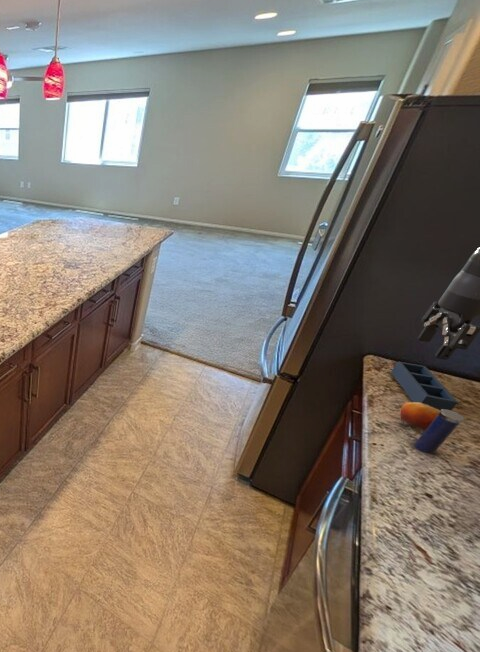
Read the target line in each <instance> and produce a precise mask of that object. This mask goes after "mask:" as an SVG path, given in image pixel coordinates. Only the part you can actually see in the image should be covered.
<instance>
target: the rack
mask: <svg viewBox="0 0 480 652" xmlns="http://www.w3.org/2000/svg"><path fill="white" fill-rule="evenodd" d="M390 373H391V375H392V376H393V377H394V379H395V380H396V381H397V383H398V384H399V385H400V387H401V388H402V390H403V391H404V392H405V393H406V394H407V396H408V397H409V399H410V400H411V402H419V403H423V404H426V405H429V406H430V407H433V408H436V409H438V410H440V411H441V410H442V409H446V410H451V411H453V409H454V408H455V407H456V406H457V405H458V404H459V402H458V400H457V399H456V397H454V396H453V395H452V394H451V393H450V391H449V390H448V389H447V388H446V387H445V386H444V385H443V384H442V383H441V381H440V380H439V379H438V378H437V377H436V376H435V375H434V374H433V373H432V372H431V371H430V370H429V368H428V367H427V366H426V365H421V364H416V363H409V362H404V361H397V362H396V364H395V365H394V367H393V368H392V369H391V371H390Z"/></svg>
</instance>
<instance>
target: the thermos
mask: <svg viewBox="0 0 480 652" xmlns="http://www.w3.org/2000/svg"><path fill="white" fill-rule="evenodd" d="M464 420H465V417H464V416H463V415H461V414H460V413H459V412H456V411H453V410H446V409H442V410H441V411H440V412H439V414H438V415H437V417H436V418H435V419H434V420H433V422H432V423H431V424H430V425H429V427H428V428H427V429H426V430H425V431H424V433H423V432H422V434H421V435H420V436H419V437H418V439H416V441H415V442H414V443H413V446H414V447H415V448H416V449H417V450H418V451H419V452H423V453H424V454H428V455H433V454H434V453H435V452H436V451H438V449H439V448H440V447H441V446H442V444H444V442H445V441H446V440H447V438H449V436H450V435H451V434H452V433H453V432H454V431H455V429H456V428H457V427H458V426H459V425H460V424H461V423H462V422H463V421H464Z"/></svg>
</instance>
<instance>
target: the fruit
mask: <svg viewBox="0 0 480 652" xmlns="http://www.w3.org/2000/svg"><path fill="white" fill-rule="evenodd" d="M439 412H440V410H438V409H436V408H433V407H430V406H429V405H426V404H423V403H419V402H413V401H411V402H410V401H409V402H405V403H403V405H402V406H401V409H400V412H399V413H400V415H399V416H400V420H401V421H402V423H403V425H404V426H410V427H413V428H416V429H418V430H419V431H421V432H422V434H423V433H424V431H425V430H426V429H427V428H428V427H429V425H430V424H431V423H432V422H433V420H434V419H435V418H436V417H437V415H438V414H439Z"/></svg>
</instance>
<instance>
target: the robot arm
mask: <svg viewBox="0 0 480 652" xmlns="http://www.w3.org/2000/svg"><path fill="white" fill-rule="evenodd" d="M477 317H478V318H479V317H480V247H478V248H477V249H476V250H474V252H473V253H472V254H471V255H470V257H469V258H468V259H467V261H466V263H465V264H464V265H463V267H462V269H461V270H460V271H459V272H458V273H457V274H456V275H455V277H454V278H453V279H452V281H451V282H450V283H449V285H448V287H447V288H446V290H445V291H444V292H443V294H442V296H441V297H440V298H439V300H438V301H437V300H436V301H433V303H432V304H431V305H430V307H429V308H428V309H427V311H426V312H425V314H424V315H423V316H422V318H421V322H423V327H424V328H423V329H422V330H421V332H420V334H419V336H417V340H418V341H419V342H424V343H429V342H431V341H432V339H433V338H434V336H435V335H436V333H437V332H438V329H441V330H442V333H441V336H442V337H444V341H443V343H442V345H440V347H439V348H438V349H437V351H436V352H435V354H434V357H435V358H436V359H438V360H445V361H446V360H449V359H450V358H451V356H452V355H453V354H454V353H455V352H456V350H457V349H459V350H464V351H467V350H468V348H469V347H470V346H471V344H472V342H473V341H474V340H475V338H476V337H477V336H478V334H479V333H480V326H478V325H473V324H472V323H473V320H474V319H475V318H477Z"/></svg>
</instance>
